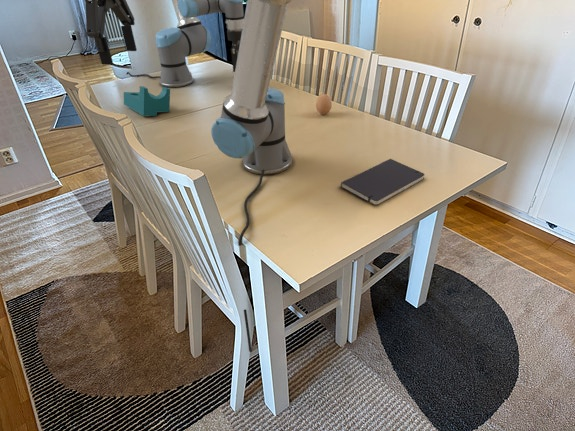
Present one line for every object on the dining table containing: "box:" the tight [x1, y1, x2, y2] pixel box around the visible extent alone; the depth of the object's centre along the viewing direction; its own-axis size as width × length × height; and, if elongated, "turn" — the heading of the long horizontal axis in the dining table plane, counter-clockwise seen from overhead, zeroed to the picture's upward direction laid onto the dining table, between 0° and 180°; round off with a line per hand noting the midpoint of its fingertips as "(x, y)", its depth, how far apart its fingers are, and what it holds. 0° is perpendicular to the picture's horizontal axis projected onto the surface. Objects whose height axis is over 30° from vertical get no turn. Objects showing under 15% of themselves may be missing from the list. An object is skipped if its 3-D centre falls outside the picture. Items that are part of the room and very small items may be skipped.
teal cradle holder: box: [123, 85, 171, 117], centre depth 163 cm, size 18×11×10 cm, turn 43°
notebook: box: [340, 158, 425, 206], centre depth 114 cm, size 13×2×21 cm
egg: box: [315, 93, 333, 116], centre depth 155 cm, size 6×6×8 cm
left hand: (240, 84), depth 185 cm, fingers closed on pill bottle, 4 cm apart
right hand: (120, 57), depth 110 cm, fingers open, 13 cm apart
